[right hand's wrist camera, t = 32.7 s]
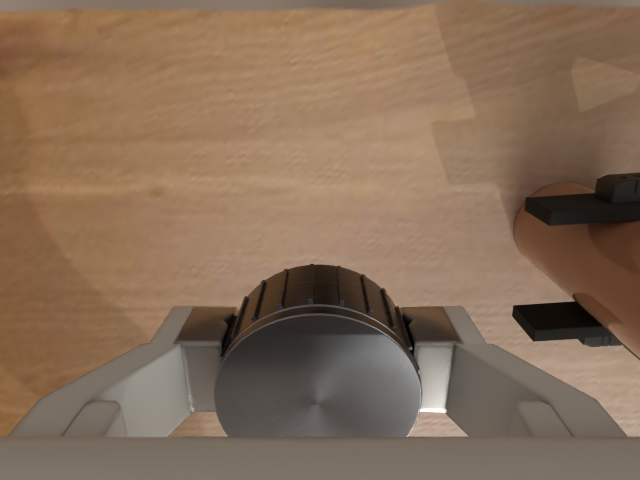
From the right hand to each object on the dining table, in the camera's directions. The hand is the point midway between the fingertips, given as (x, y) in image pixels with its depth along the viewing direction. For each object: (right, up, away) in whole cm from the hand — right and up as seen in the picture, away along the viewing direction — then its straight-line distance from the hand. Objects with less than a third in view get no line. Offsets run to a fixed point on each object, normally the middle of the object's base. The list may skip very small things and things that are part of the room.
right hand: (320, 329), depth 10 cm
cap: (0, -1, -2) cm, 2 cm away
